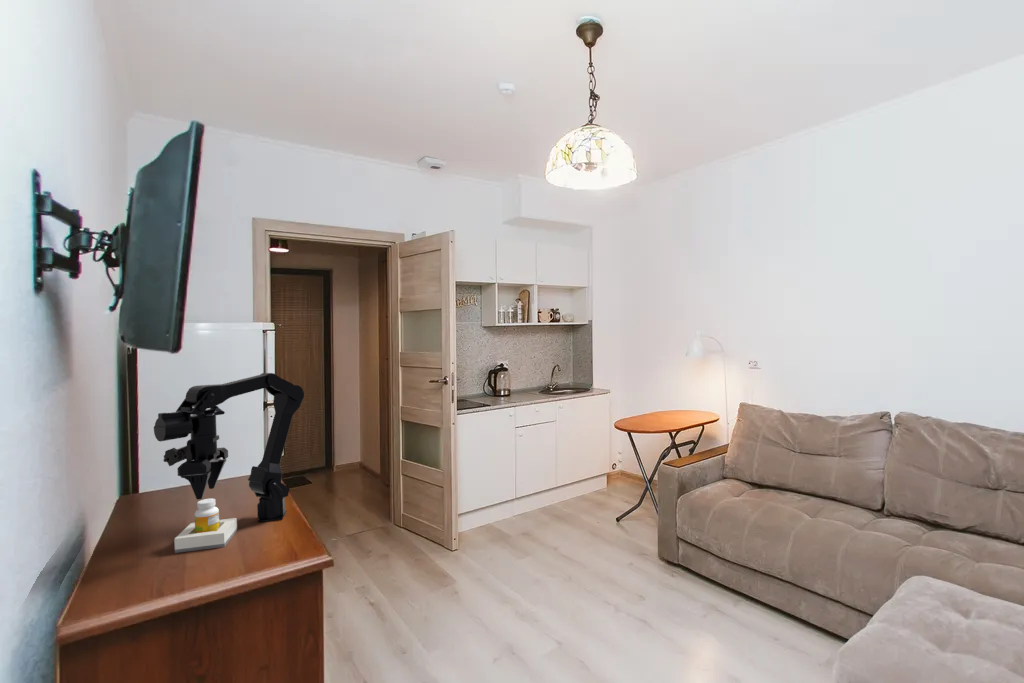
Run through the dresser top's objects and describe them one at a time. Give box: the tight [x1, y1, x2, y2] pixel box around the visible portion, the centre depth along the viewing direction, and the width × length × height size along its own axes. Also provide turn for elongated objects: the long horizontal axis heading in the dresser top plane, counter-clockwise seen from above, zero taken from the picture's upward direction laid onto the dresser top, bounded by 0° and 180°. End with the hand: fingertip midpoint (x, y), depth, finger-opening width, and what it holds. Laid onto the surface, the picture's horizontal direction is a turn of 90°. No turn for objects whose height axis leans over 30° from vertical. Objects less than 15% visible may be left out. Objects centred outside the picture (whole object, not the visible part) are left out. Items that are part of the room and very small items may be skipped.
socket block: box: [174, 517, 238, 554], centre depth 127 cm, size 11×11×4 cm
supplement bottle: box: [194, 497, 220, 533], centre depth 128 cm, size 5×5×10 cm
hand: (205, 493), depth 127 cm, fingers open, 9 cm apart
